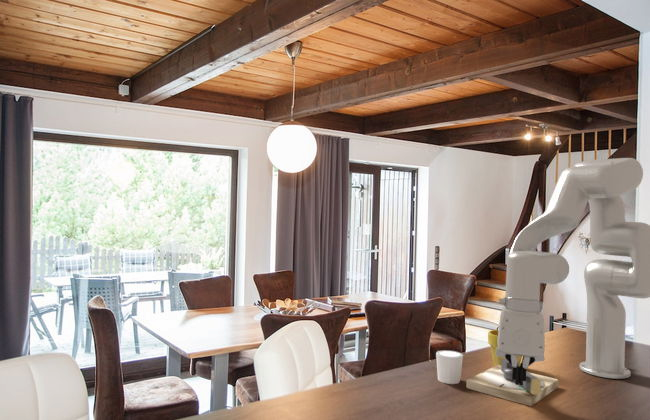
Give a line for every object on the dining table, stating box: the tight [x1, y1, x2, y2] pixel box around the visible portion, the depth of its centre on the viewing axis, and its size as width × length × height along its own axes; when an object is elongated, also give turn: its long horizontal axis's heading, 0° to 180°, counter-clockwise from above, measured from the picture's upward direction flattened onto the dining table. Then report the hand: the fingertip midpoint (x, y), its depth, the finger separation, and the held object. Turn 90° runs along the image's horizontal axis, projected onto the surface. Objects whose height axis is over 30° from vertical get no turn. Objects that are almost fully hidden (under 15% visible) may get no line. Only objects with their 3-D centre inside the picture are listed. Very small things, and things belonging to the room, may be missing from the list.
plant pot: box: [487, 329, 523, 367], centre depth 143 cm, size 10×10×10 cm
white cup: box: [435, 349, 464, 385], centre depth 131 cm, size 7×7×7 cm
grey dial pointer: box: [501, 359, 541, 394], centre depth 124 cm, size 16×4×3 cm, turn 5°
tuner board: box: [466, 365, 559, 407], centre depth 127 cm, size 18×16×2 cm
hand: (518, 383), depth 118 cm, fingers closed
